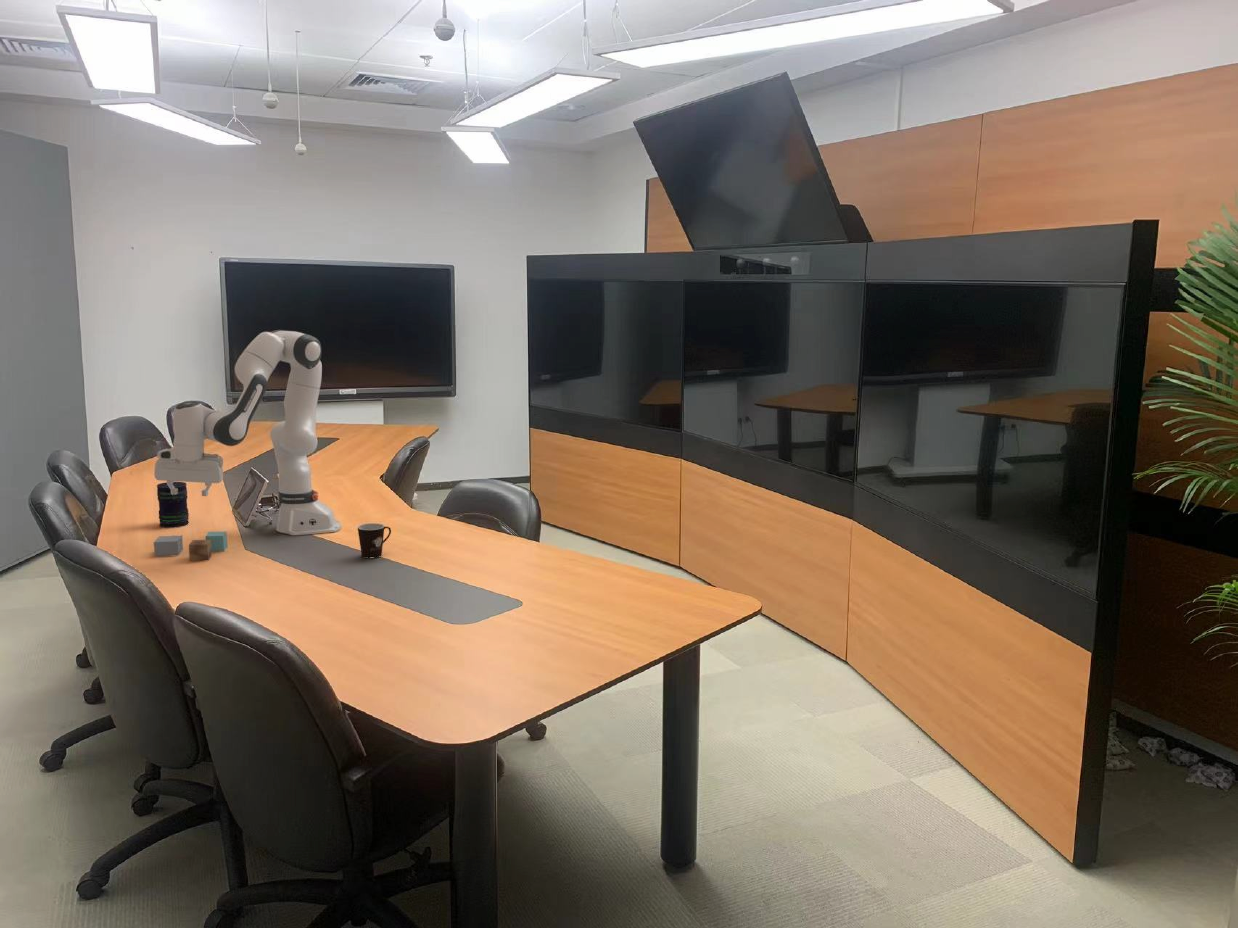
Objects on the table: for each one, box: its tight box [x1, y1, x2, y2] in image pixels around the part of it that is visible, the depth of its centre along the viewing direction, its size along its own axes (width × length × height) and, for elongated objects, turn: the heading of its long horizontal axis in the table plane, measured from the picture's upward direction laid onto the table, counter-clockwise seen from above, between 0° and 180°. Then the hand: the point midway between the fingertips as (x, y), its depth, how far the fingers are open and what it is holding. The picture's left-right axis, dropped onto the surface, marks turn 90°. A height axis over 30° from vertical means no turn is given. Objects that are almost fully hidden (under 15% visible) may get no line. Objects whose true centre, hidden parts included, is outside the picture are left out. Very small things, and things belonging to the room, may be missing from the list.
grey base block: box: [153, 535, 184, 557], centre depth 296 cm, size 7×7×5 cm
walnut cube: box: [188, 539, 213, 562], centre depth 291 cm, size 6×6×6 cm
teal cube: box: [205, 530, 228, 553], centre depth 301 cm, size 6×6×6 cm
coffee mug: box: [357, 522, 392, 559], centre depth 299 cm, size 12×9×10 cm
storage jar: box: [156, 481, 190, 529], centre depth 329 cm, size 10×10×15 cm
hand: (189, 495), depth 289 cm, fingers open, 8 cm apart
